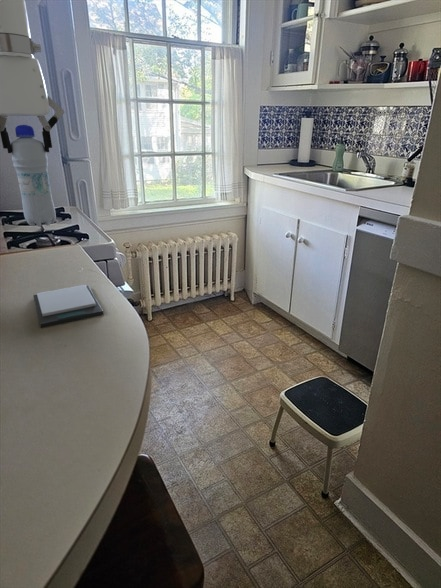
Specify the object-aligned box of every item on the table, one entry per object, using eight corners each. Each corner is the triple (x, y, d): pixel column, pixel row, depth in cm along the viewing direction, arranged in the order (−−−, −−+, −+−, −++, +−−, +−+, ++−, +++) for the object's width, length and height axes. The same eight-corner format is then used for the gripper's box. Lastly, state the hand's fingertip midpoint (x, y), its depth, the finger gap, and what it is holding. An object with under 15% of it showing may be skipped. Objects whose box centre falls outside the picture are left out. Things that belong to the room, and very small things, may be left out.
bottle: (18, 225, 85) (-3, 124, 76) (46, 219, 90) (29, 124, 82) (37, 229, 81) (17, 125, 73) (64, 223, 86) (49, 124, 78)
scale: (35, 305, 81) (32, 292, 80) (89, 295, 86) (87, 282, 85) (42, 335, 70) (39, 321, 69) (104, 322, 75) (102, 308, 73)
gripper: (59, 55, 79) (72, 150, 86) (-42, 48, 72) (-18, 151, 79) (62, 49, 72) (75, 152, 80) (-48, 41, 66) (-22, 154, 73)
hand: (28, 151), depth 79 cm, fingers closed on bottle, 6 cm apart
